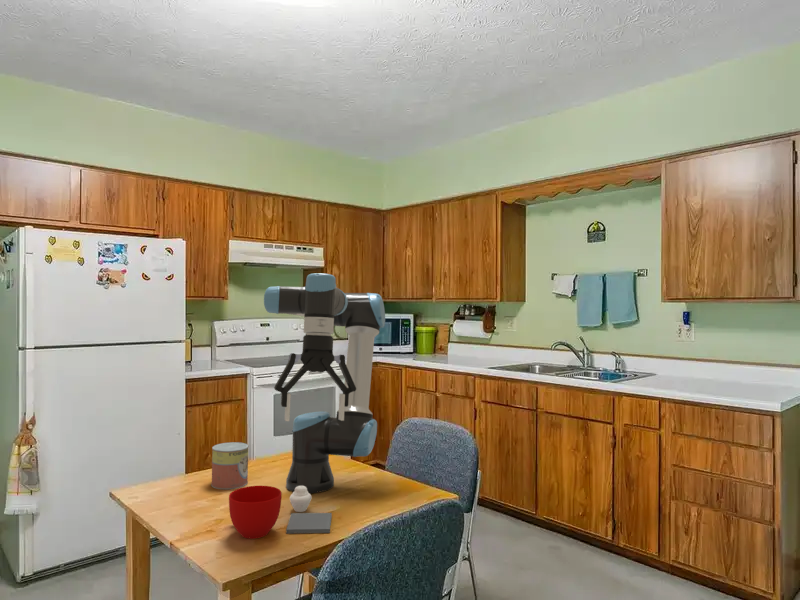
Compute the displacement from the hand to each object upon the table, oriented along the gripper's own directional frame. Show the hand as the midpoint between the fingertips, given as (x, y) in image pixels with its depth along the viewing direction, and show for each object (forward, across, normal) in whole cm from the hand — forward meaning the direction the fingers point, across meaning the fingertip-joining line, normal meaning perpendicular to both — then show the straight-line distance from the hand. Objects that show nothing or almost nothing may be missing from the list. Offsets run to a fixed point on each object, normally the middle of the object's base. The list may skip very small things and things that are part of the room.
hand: (314, 420), depth 135 cm
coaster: (+29, +2, +12) cm, 31 cm away
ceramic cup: (+29, -13, +12) cm, 34 cm away
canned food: (+26, -16, +52) cm, 61 cm away
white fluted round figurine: (+28, +2, +23) cm, 36 cm away
